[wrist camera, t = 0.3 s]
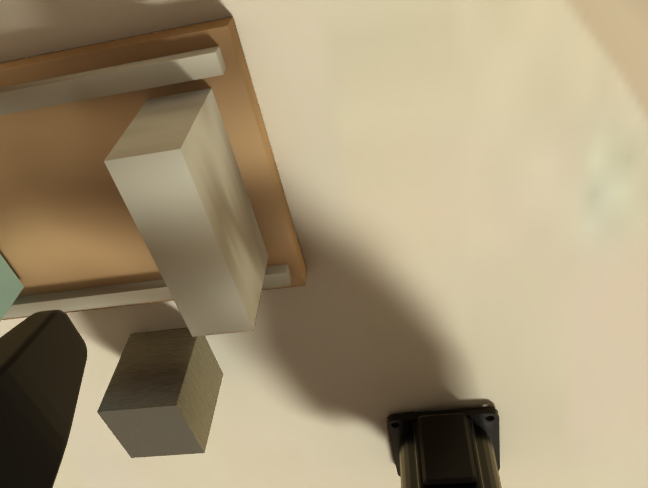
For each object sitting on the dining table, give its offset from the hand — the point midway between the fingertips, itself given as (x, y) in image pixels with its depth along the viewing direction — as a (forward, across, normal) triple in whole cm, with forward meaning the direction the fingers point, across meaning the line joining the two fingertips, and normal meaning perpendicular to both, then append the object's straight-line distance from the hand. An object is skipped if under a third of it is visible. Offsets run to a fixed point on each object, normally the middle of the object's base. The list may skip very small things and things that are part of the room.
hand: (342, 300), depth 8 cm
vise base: (+14, +13, +5) cm, 20 cm away
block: (+14, +12, +16) cm, 25 cm away
